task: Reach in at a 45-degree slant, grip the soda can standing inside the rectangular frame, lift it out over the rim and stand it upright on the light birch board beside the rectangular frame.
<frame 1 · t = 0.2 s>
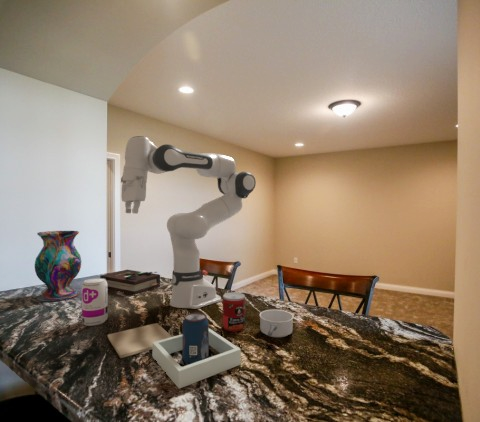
hand: (131, 213, 110), 39 cm above the breakfast bar, tool pointing down, fingers open, 8 cm apart
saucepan: (274, 338, 92), on the breakfast bar
board: (141, 339, 89), on the breakfast bar
decorative book: (130, 288, 150), on the breakfast bar
canned food: (233, 327, 99), on the breakfast bar
rectangular frame: (195, 360, 77), on the breakfast bar
soda can: (195, 361, 77), resting in rectangular frame
supplement can: (94, 322, 103), on the breakfast bar
vase: (58, 296, 133), on the breakfast bar
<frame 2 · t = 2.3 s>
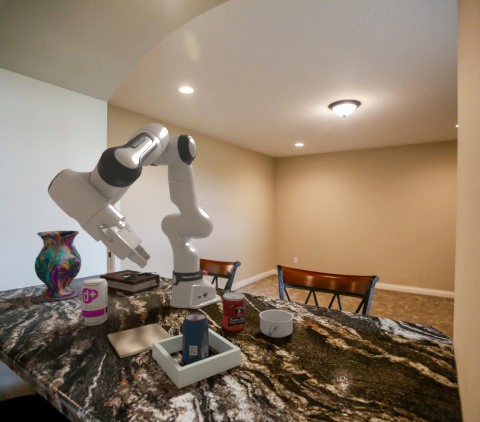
hand: (147, 262, 74), 27 cm above the breakfast bar, tool tilted 45°, fingers open, 8 cm apart
nothing on the breakfast bar moved.
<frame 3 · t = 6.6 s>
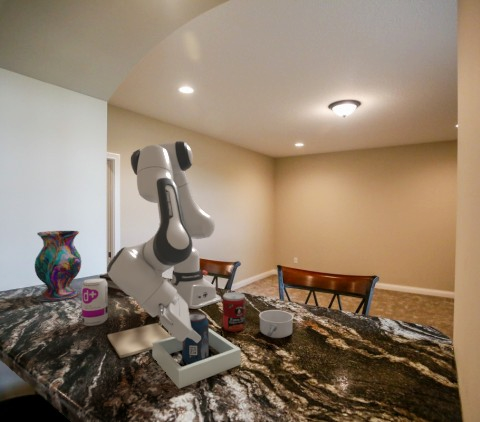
hand: (197, 332, 77), 7 cm above the breakfast bar, tool tilted 45°, fingers closed on soda can, 7 cm apart
soda can: (195, 361, 77), resting in rectangular frame, touching gripper
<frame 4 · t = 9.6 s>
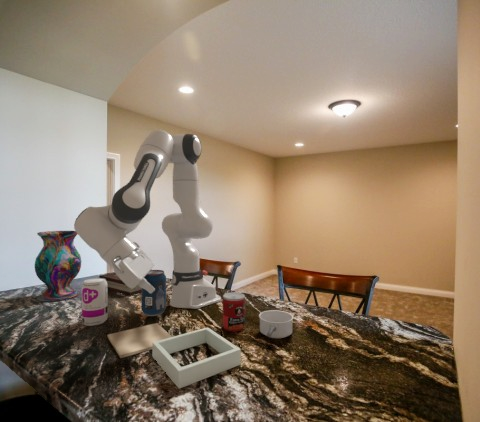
hand: (156, 287, 85), 18 cm above the breakfast bar, tool tilted 45°, fingers closed on soda can, 7 cm apart
soda can: (153, 313, 85), point 10 cm above the breakfast bar, touching gripper
when the fingers open (10 cm above the breakfast bar, at t = 12.8 s): soda can drops 1 cm, resting on board.
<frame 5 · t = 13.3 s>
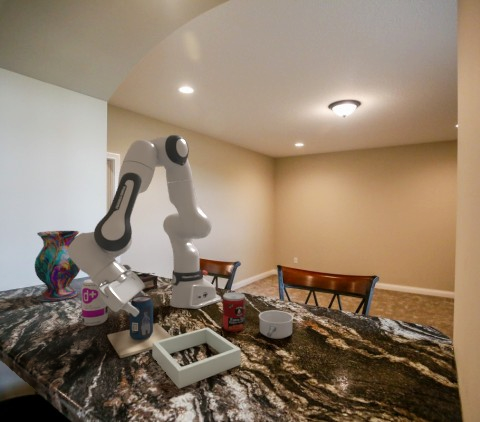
hand: (143, 308, 89), 10 cm above the breakfast bar, tool tilted 45°, fingers open, 8 cm apart
soda can: (141, 337, 90), point 1 cm above the breakfast bar, touching board
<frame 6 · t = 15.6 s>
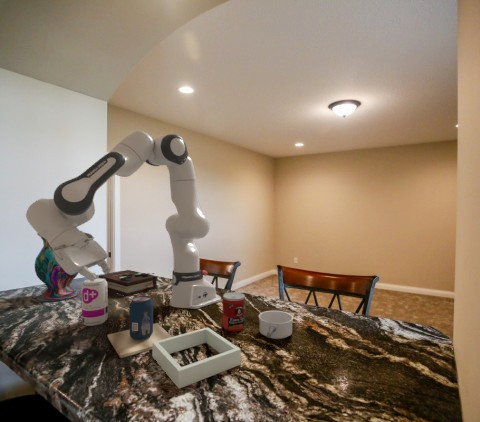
hand: (102, 275, 89), 20 cm above the breakfast bar, tool tilted 45°, fingers open, 8 cm apart
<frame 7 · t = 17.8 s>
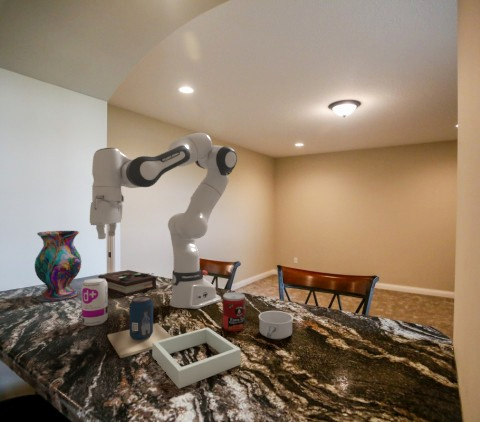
hand: (107, 237, 96), 31 cm above the breakfast bar, tool pointing down, fingers open, 8 cm apart
at the end: soda can inside the target area on the board (0.4 cm from its centre), point 0.6 cm above the board's base; soda can tilted 0°; the gripper is holding nothing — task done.
